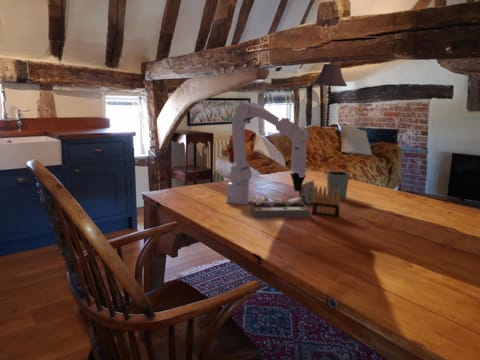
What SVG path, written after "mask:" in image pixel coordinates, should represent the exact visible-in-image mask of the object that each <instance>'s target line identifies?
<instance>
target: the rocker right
mask: <svg viewBox="0 0 480 360" xmlns="http://www.w3.org/2000/svg"><path fill="white" fill-rule="evenodd" d="M301 201H303V200H302V198H301V197H300V196H297V197H293V198H290V199H288V201H287V202H289V203H290V204H293V203H298V202H301Z"/></svg>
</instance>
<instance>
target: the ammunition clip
mask: <svg viewBox="0 0 480 360" xmlns="http://www.w3.org/2000/svg"><path fill="white" fill-rule="evenodd" d="M340 204H341V200H340V189H339V188H338V190H337V196H336V200H335V188H333V191H332V197H331V190H330V187H329V189H328V194H327V187H326V186H324V187H323V189H322V186H321V185H320V186H319V189H318V186H317V185H315V191H314V198H313V202H312V211H311V215H313V216H321V217H328V218H329V217H330V218H331V217H332V218H336V219H337V218H338V219H339V218H340Z"/></svg>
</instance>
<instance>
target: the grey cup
mask: <svg viewBox="0 0 480 360" xmlns="http://www.w3.org/2000/svg"><path fill="white" fill-rule="evenodd" d="M326 176H327V177H326V179H327V180H326V183H327V184H326V185H327V187H326V195H327V194H328V189H329V187H330V190H331V197H332V191H333V188H335V201H336V196H337V190H338V188H339V189H340V201H342V200H343V201H344V200H346V198H347V192H348V185H349V180H350V179H349V178H350V172H345V171H342V170H330V171H327V173H326Z"/></svg>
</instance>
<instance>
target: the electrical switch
mask: <svg viewBox="0 0 480 360" xmlns="http://www.w3.org/2000/svg"><path fill="white" fill-rule="evenodd" d="M315 187H316V185H315V182H314V180H309V181H307V182H303V183H302V186H301V190H300V191H298V194H299V195H298V196H299V197H301V198H302V200H303V201H300V202H303V203H304V204H305V205H309V204H313V198H314V191H315Z"/></svg>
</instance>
